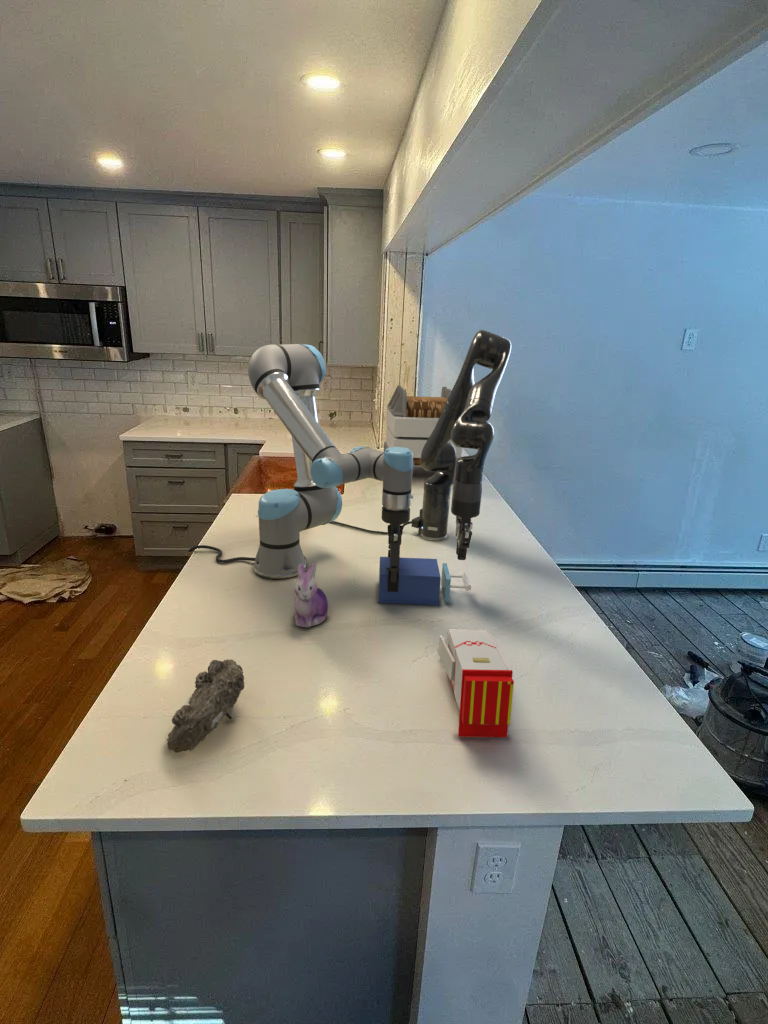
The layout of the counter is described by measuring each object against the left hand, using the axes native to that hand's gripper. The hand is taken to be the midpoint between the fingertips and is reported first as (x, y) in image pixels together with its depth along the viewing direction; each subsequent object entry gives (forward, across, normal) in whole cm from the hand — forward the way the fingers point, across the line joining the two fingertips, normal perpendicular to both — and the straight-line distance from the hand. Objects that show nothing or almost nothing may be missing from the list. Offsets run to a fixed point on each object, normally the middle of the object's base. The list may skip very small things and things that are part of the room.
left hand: (392, 580), depth 157 cm
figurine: (+4, -16, +21) cm, 26 cm away
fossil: (+4, -52, +35) cm, 63 cm away
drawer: (+3, 0, -11) cm, 11 cm away
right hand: (-8, 0, -18) cm, 20 cm away
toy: (+4, -42, -16) cm, 45 cm away
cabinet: (+4, 0, -4) cm, 6 cm away
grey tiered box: (+4, +124, -15) cm, 125 cm away
